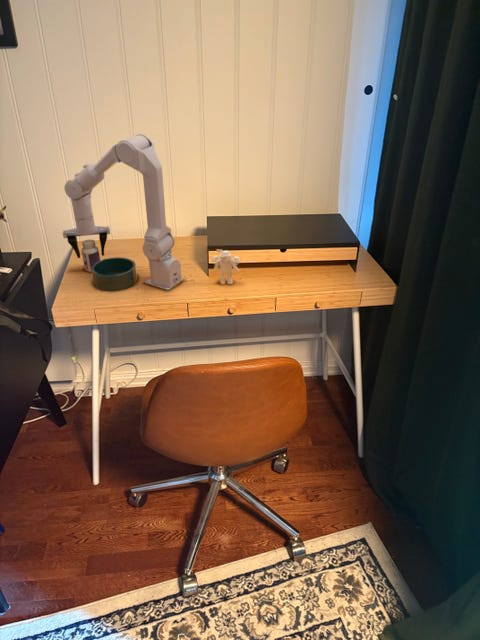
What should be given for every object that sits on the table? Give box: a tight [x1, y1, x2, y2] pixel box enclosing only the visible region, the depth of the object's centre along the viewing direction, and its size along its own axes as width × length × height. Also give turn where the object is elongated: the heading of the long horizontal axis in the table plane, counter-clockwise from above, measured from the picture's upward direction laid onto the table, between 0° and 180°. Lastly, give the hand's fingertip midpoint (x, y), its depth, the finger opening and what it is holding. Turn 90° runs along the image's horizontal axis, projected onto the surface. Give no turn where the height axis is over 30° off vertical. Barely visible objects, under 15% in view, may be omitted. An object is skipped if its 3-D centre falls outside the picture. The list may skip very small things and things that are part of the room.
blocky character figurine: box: [211, 248, 242, 285], centre depth 148 cm, size 9×4×12 cm, turn 86°
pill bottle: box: [80, 239, 101, 273], centre depth 157 cm, size 5×5×10 cm
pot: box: [91, 256, 138, 292], centre depth 152 cm, size 14×14×5 cm
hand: (91, 255), depth 158 cm, fingers open, 7 cm apart
